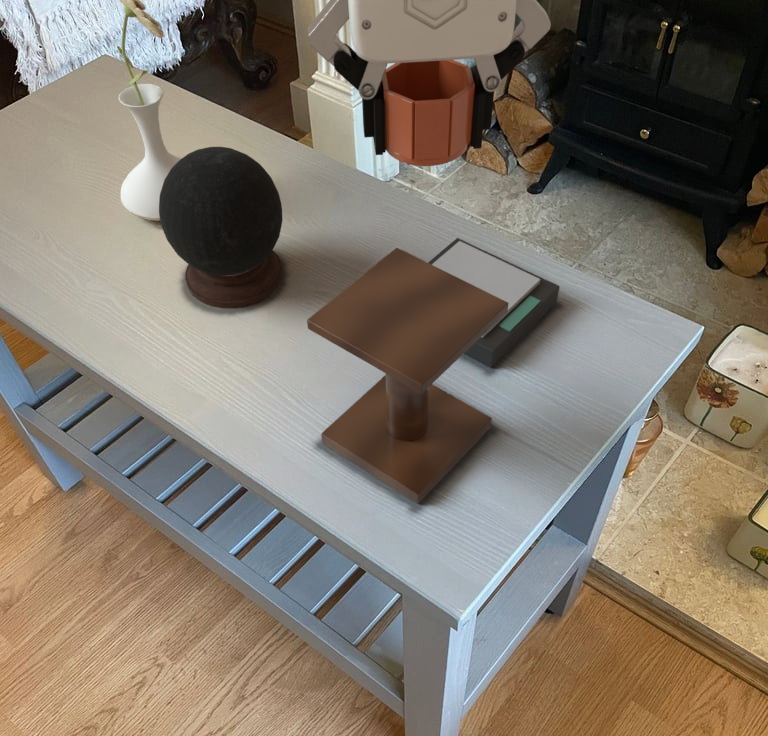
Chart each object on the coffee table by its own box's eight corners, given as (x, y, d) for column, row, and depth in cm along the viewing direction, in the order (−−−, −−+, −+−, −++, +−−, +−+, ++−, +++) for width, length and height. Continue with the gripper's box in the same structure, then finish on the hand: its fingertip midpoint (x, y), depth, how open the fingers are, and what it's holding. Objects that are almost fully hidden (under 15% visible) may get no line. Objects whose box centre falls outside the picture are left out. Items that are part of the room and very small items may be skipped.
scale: (556, 303, 91) (561, 281, 88) (491, 368, 85) (493, 347, 83) (456, 254, 96) (457, 233, 93) (388, 313, 90) (387, 291, 88)
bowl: (462, 116, 59) (466, 53, 56) (474, 163, 56) (479, 99, 52) (380, 121, 59) (378, 58, 56) (387, 169, 56) (386, 105, 52)
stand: (491, 427, 80) (509, 302, 67) (417, 504, 75) (421, 385, 62) (397, 374, 85) (396, 246, 72) (321, 443, 80) (306, 319, 66)
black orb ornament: (300, 244, 97) (286, 125, 85) (277, 318, 90) (258, 199, 78) (195, 236, 99) (166, 117, 86) (163, 309, 91) (127, 190, 79)
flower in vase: (220, 221, 100) (173, 2, 80) (127, 237, 99) (56, 18, 78) (206, 163, 108) (160, -51, 87) (120, 177, 106) (53, -38, 85)
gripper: (272, -145, 40) (307, 179, 55) (611, -164, 41) (556, 163, 56) (271, -193, 45) (304, 120, 60) (578, -209, 45) (535, 106, 60)
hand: (426, 139), depth 57 cm, fingers closed on bowl, 6 cm apart
